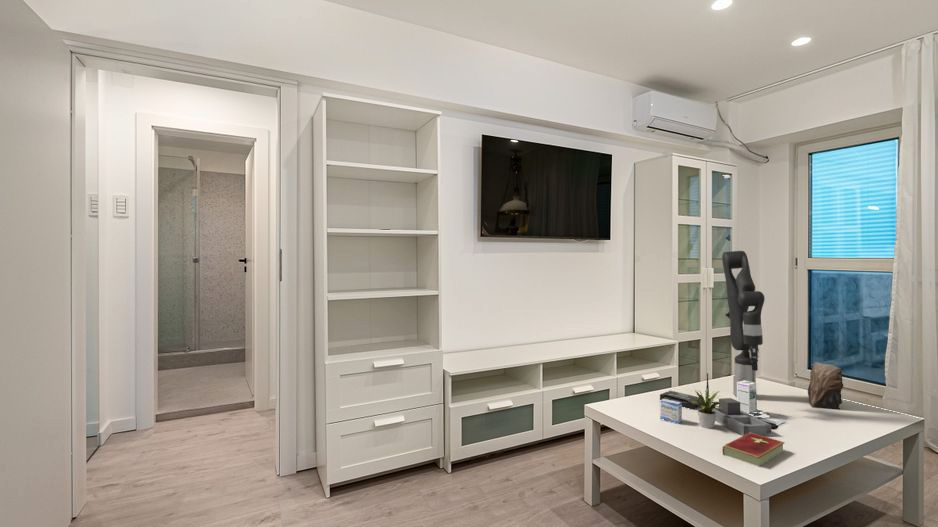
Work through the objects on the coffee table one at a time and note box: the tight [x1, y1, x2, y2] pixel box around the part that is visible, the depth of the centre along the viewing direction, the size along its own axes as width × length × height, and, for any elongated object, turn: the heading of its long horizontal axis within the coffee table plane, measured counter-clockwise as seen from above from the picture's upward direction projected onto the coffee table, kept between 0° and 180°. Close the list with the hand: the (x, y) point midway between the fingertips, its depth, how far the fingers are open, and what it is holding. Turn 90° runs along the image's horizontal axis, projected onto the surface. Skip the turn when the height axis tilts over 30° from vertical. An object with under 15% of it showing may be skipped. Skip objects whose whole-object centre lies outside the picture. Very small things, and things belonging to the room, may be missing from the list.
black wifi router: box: [659, 372, 710, 410], centre depth 218 cm, size 20×14×17 cm
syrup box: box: [736, 380, 758, 413], centre depth 204 cm, size 6×6×14 cm
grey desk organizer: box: [713, 397, 772, 437], centre depth 192 cm, size 27×12×9 cm, turn 6°
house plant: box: [685, 388, 722, 429], centre depth 189 cm, size 14×14×16 cm
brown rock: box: [807, 361, 844, 410], centre depth 214 cm, size 13×13×20 cm
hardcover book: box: [721, 432, 785, 467], centre depth 163 cm, size 12×21×4 cm, turn 125°
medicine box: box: [659, 399, 683, 424], centre depth 196 cm, size 8×4×9 cm, turn 47°
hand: (754, 368), depth 208 cm, fingers open, 8 cm apart
